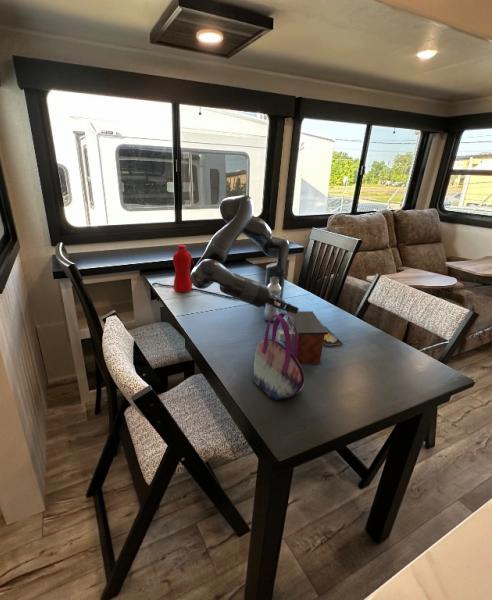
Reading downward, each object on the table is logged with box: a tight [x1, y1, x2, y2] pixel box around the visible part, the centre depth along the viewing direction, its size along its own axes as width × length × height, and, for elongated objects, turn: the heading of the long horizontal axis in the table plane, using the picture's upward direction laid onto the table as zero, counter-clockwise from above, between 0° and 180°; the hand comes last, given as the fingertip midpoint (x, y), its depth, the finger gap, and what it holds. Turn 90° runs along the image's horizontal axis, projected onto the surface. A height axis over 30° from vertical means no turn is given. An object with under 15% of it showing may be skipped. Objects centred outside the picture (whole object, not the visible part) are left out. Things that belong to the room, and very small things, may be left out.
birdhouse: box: [284, 310, 328, 365], centre depth 115 cm, size 10×17×13 cm, turn 4°
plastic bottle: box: [263, 277, 281, 322], centre depth 137 cm, size 6×7×20 cm
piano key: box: [277, 329, 293, 342], centre depth 114 cm, size 6×3×3 cm, turn 94°
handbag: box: [253, 312, 306, 401], centre depth 94 cm, size 21×10×25 cm, turn 31°
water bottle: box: [172, 244, 195, 293], centre depth 167 cm, size 9×11×25 cm
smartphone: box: [323, 325, 343, 347], centre depth 128 cm, size 7×1×15 cm
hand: (290, 307), depth 106 cm, fingers open, 8 cm apart
